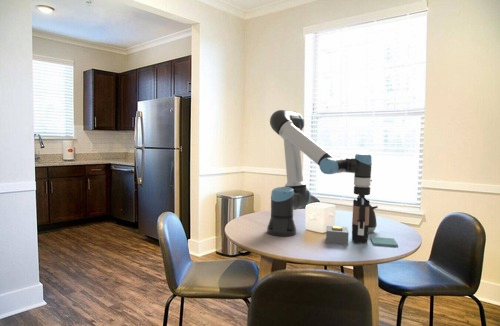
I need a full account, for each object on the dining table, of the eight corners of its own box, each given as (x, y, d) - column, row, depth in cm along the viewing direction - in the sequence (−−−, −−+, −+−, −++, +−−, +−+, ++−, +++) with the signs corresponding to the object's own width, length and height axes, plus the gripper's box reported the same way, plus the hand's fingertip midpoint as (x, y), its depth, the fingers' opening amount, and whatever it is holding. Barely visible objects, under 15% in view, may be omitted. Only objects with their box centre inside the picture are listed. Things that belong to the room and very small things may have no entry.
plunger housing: (326, 243, 164) (326, 230, 164) (326, 237, 174) (326, 225, 174) (348, 245, 162) (348, 232, 162) (346, 239, 172) (347, 227, 171)
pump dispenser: (378, 234, 181) (379, 206, 180) (357, 233, 183) (358, 205, 182) (375, 229, 191) (376, 202, 190) (355, 228, 193) (356, 201, 192)
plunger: (332, 240, 167) (333, 227, 166) (332, 237, 170) (332, 225, 170) (341, 240, 166) (341, 228, 165) (340, 238, 170) (341, 226, 169)
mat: (373, 245, 163) (373, 243, 163) (370, 238, 174) (370, 236, 174) (398, 247, 161) (398, 245, 160) (393, 240, 171) (393, 238, 171)
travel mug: (365, 244, 163) (367, 202, 162) (349, 241, 167) (351, 200, 166) (369, 240, 170) (371, 200, 168) (353, 237, 174) (355, 198, 172)
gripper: (372, 189, 156) (370, 239, 158) (368, 183, 176) (365, 228, 178) (355, 188, 158) (353, 237, 159) (352, 183, 178) (350, 226, 179)
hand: (360, 232), depth 168 cm, fingers closed on travel mug, 8 cm apart
